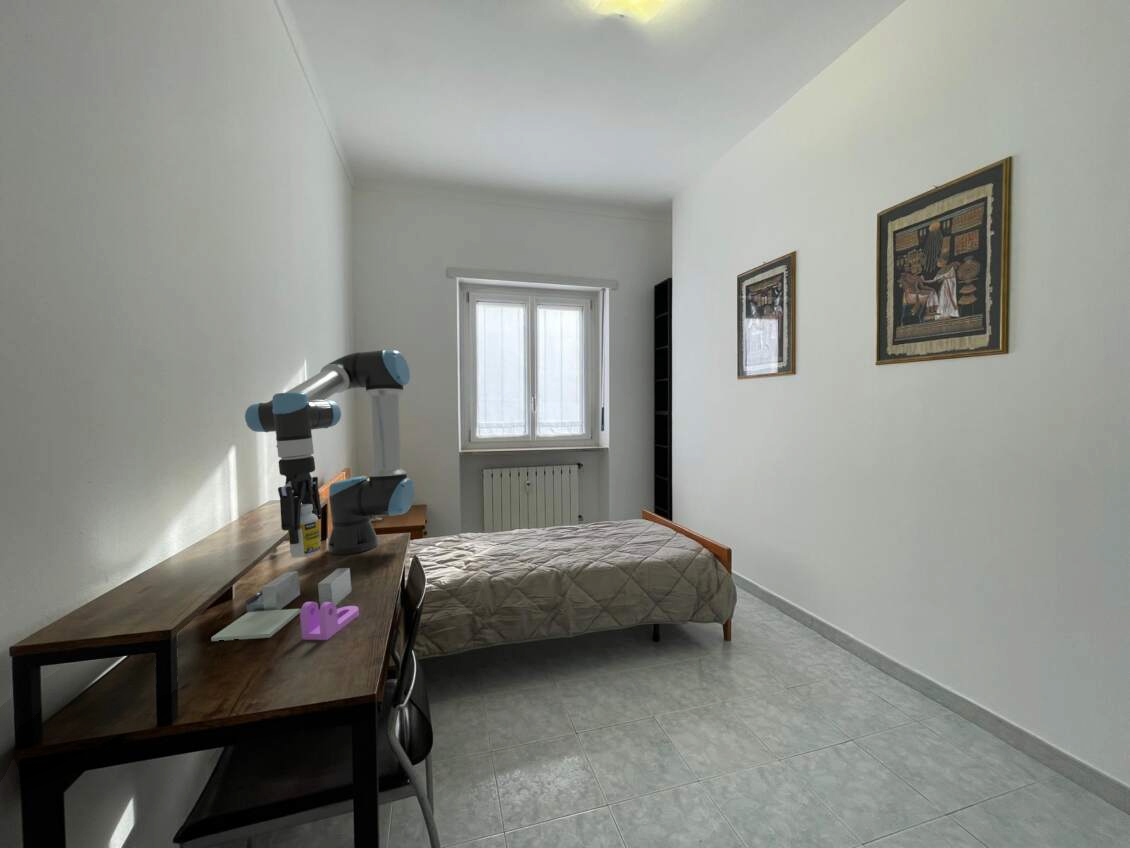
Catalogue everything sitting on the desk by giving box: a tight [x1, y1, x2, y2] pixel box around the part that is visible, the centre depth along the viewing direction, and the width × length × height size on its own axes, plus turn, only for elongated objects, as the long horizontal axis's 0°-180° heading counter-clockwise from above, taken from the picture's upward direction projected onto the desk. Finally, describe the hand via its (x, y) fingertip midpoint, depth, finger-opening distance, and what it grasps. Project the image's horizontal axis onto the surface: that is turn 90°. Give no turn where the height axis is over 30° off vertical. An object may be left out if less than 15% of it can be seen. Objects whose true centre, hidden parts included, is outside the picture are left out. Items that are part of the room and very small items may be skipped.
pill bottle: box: [287, 503, 321, 557], centre depth 118 cm, size 6×6×12 cm
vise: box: [245, 567, 353, 613], centre depth 118 cm, size 10×21×6 cm, turn 90°
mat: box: [210, 608, 301, 642], centre depth 107 cm, size 12×12×1 cm
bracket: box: [299, 601, 360, 641], centre depth 105 cm, size 13×6×7 cm, turn 171°
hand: (306, 551), depth 118 cm, fingers closed on pill bottle, 6 cm apart
